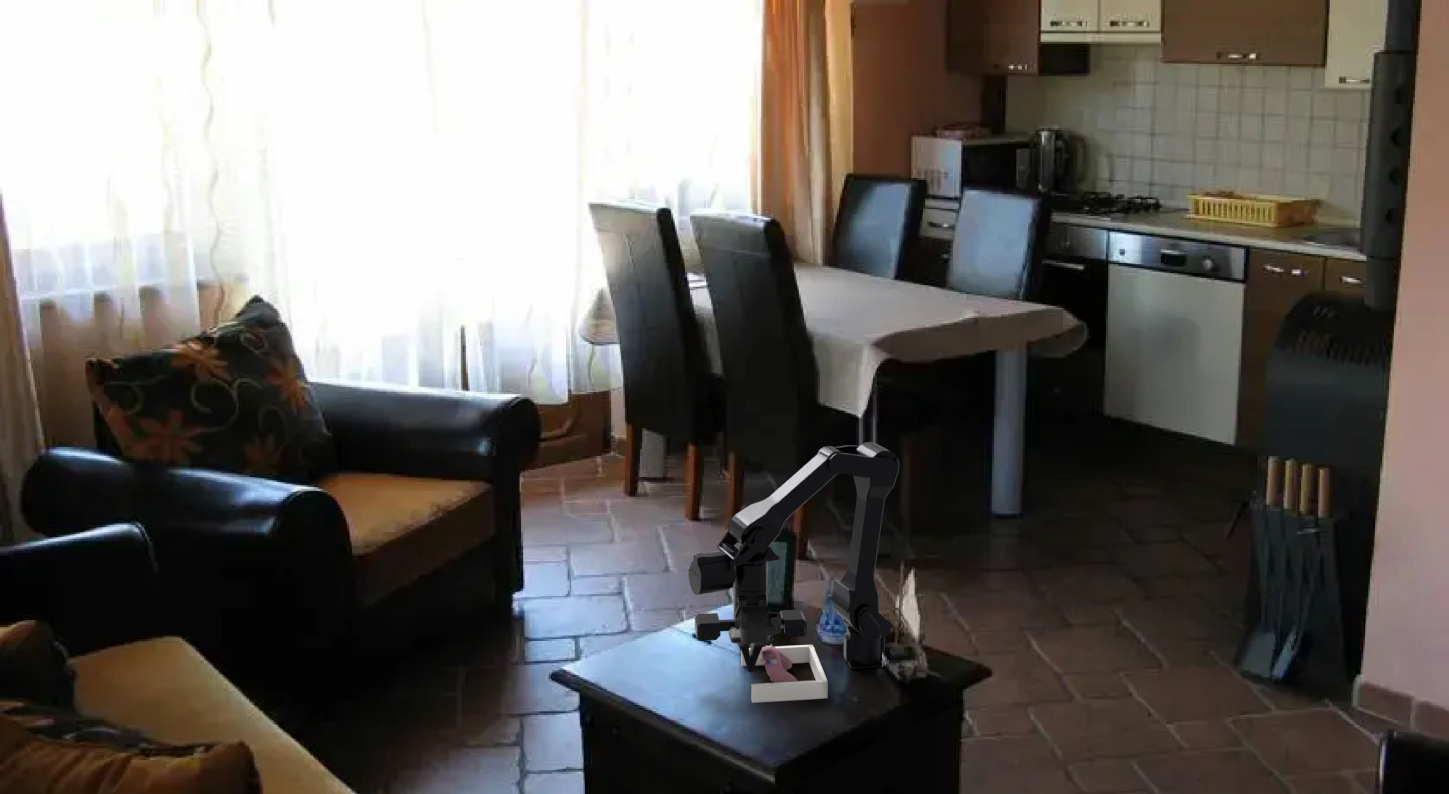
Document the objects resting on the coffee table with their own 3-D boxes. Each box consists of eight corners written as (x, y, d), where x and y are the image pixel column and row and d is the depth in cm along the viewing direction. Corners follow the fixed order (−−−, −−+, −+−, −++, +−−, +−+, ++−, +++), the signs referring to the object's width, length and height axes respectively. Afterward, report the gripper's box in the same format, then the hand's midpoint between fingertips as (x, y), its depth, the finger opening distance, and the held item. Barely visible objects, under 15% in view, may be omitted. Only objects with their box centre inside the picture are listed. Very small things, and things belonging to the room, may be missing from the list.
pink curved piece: (770, 676, 264) (752, 644, 263) (793, 664, 264) (776, 632, 263) (777, 701, 255) (759, 667, 253) (801, 689, 255) (783, 655, 253)
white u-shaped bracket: (812, 660, 267) (812, 644, 267) (827, 698, 252) (827, 681, 252) (741, 664, 266) (741, 648, 265) (752, 702, 251) (751, 686, 250)
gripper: (699, 606, 246) (700, 694, 249) (812, 601, 248) (811, 689, 251) (694, 581, 256) (694, 666, 260) (802, 577, 258) (801, 661, 262)
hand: (750, 671), depth 258 cm, fingers closed
